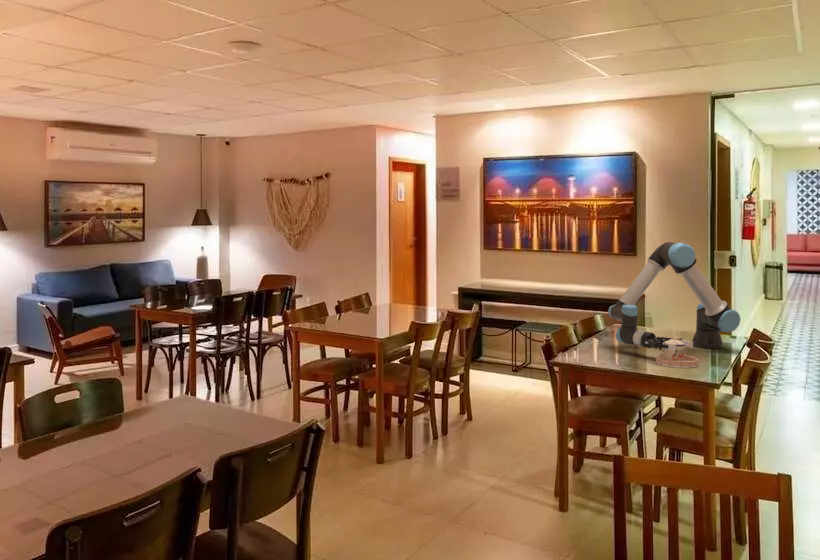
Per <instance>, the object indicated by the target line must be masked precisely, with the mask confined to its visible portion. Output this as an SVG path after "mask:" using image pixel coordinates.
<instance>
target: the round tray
mask: <svg viewBox="0 0 820 560" xmlns="http://www.w3.org/2000/svg"><path fill="white" fill-rule="evenodd" d="M655 361H656V364H658V365H659V366H663V367H668V368H676V369H691V368H692V369H693V368H696V367H698V364H699V358H697V357H695V356H692V355H686V354H685V355H684V358H683V362H679V361H670V360H665V359H664V353H662V354H661V353H660V354H657V355H656V357H655Z"/></svg>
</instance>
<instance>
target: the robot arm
mask: <svg viewBox="0 0 820 560" xmlns="http://www.w3.org/2000/svg"><path fill="white" fill-rule="evenodd" d="M697 263H698V260H697V258H696V252H695V249H693V247H692V246H691V245H689V244H687V243H684V242H672V241H668V242H664V243H662V244H660V245H659V246H658V247H657V248H656V249H655V250H654V251H653V252H652V253H651V255H650V256H649V257H648V258H647V263H646V264H645V265H644V267H643V268H642V270H641V271H640V272H639V274H637V276H636V277H635V279H634V280H633V281H632V283H631V284H630V285H629V287H628V288H627V289H626V291H625V292H623V294H622V296H620V298H619V300H617V302H616V303H615V304H613V305H611V306H609V308H608V310H607V313H608V315H609V317H611V318H612V319H613V320H616V321H618V322H620V323H621V325H620V327H619V328H617V330H616V332H615V338H616V341H618V342H619V343H624V344H627V345H633V346H638V348H641V347H643V348H649V349H652V348H653V349H658V350H659V351H662V350H664V349H667V350H672V351H676V345H673V344H668V343H664V342H665V341H668V340H670V339H673V337H664V336H656V334H655V333H653V332H650V331H644V330H640V329H639V330H638V313H639V312H638V307H637V305H635V304H637V302H638V301H639V299H640V298H641V297H642V295H644V293H645V291H646V290H647V289H648V287H650V285H651V284H652V283H653V281H654V280H655V279H656V277H657V275H659V273H660V272H663V271H664V270H665V269H666V268H668V267H669V266H670V267H671V269H672V270H673V271H674V273H675V274H679V275H681V277H682V278H683V280H684V281H685V282H686V283H687V285H688V287H689V288H690V289H691V291H692V292H693V294H694V295H695V297H696V298H697V299H698V301H699V303H698V304H697V306H696V323H695V325H696V326H695V333H694V336H693V338H692V340H691V341H689V340H684V339H683V338H681V337H680V338H677V340H680V341H681V342H683V343H684V344H685V346H684V347H685V348H691V349H692V348H693V349H694V347H695V348H701V349H702V348H703V349H712V350H715V349H722V348H723V347H724V341H723V339H722V335H721V332H722V333H732V332H734V331H736V330H737V329H738V327H739V326H740V323H741V315H740V314H739V312H738V311H736V309H732V308H731V307H730V305H729V304H728V302H727V301H725V300H722V299H721V298H720V297H719V295H718V294H717V292H716V291H715V289H714V288H713V286H711V284H710V282H709V281H708V280H707V279H706V278H707V277H705V275H704V274H703V272H701V269H699V267H698V266H697Z"/></svg>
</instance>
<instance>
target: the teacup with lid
mask: <svg viewBox="0 0 820 560" xmlns="http://www.w3.org/2000/svg"><path fill="white" fill-rule="evenodd" d="M672 338H673V339H670V340H668V341H665V342H664V343H668V344H673V345H676V351H672V350H667V349H663V354H664V359H665V360H670V361H679V362H683V358H684V355H686V352H687V347H685V344H684V343H683V342H681V341H680V340H677V339H678V337H676V336H673V337H672Z"/></svg>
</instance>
